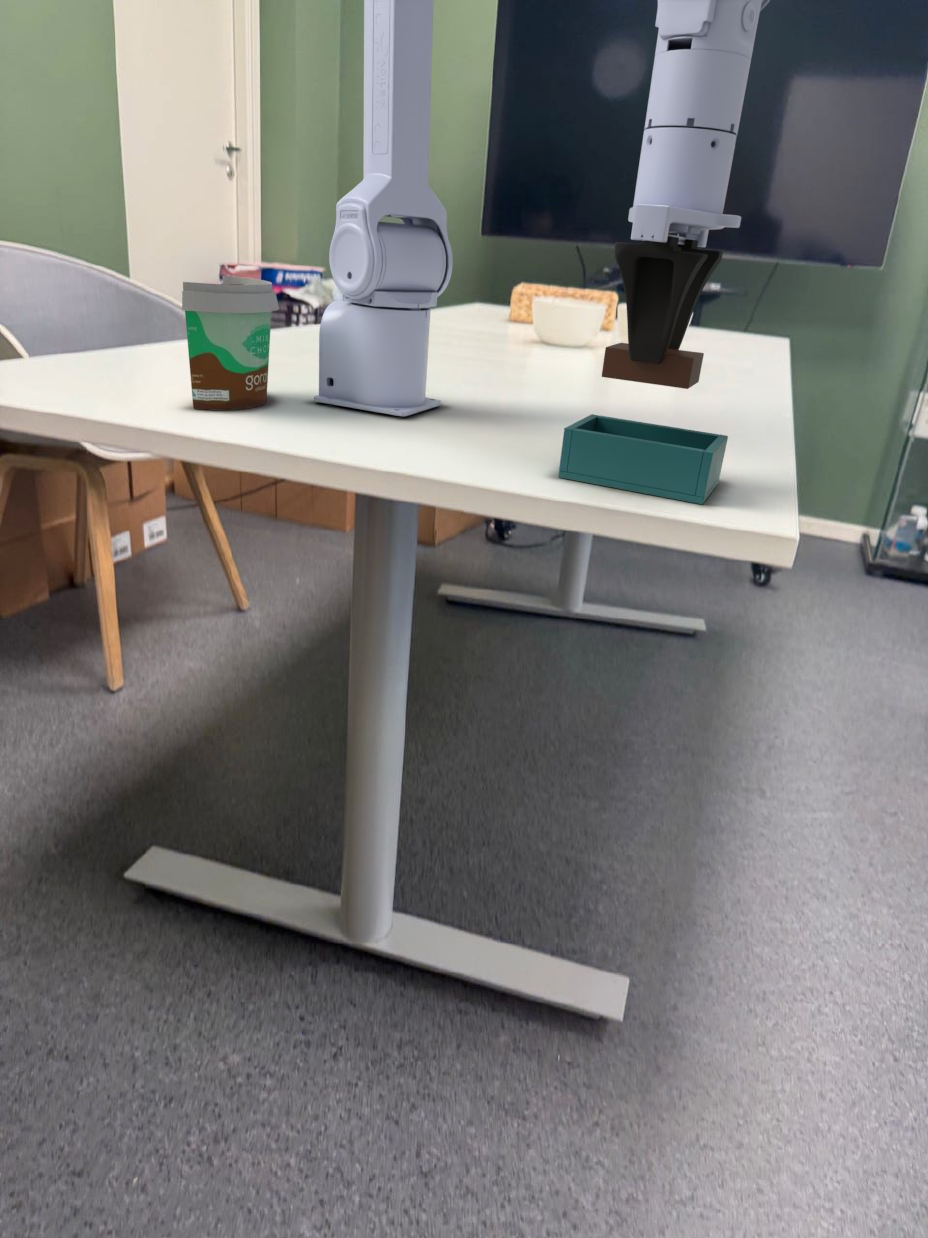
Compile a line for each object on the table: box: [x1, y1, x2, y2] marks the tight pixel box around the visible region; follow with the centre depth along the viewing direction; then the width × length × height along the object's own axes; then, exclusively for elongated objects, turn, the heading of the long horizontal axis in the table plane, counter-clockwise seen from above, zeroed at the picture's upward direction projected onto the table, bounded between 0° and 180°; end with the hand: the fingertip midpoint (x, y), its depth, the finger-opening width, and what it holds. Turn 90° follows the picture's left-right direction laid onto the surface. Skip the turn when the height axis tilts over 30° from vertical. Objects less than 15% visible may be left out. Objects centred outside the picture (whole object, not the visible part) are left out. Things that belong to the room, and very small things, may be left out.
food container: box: [181, 275, 280, 411], centre depth 73 cm, size 12×6×10 cm, turn 179°
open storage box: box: [558, 414, 729, 505], centre depth 60 cm, size 10×7×4 cm, turn 66°
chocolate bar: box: [601, 342, 705, 390], centre depth 59 cm, size 6×4×2 cm, turn 66°
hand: (653, 358), depth 59 cm, fingers closed on chocolate bar, 4 cm apart
